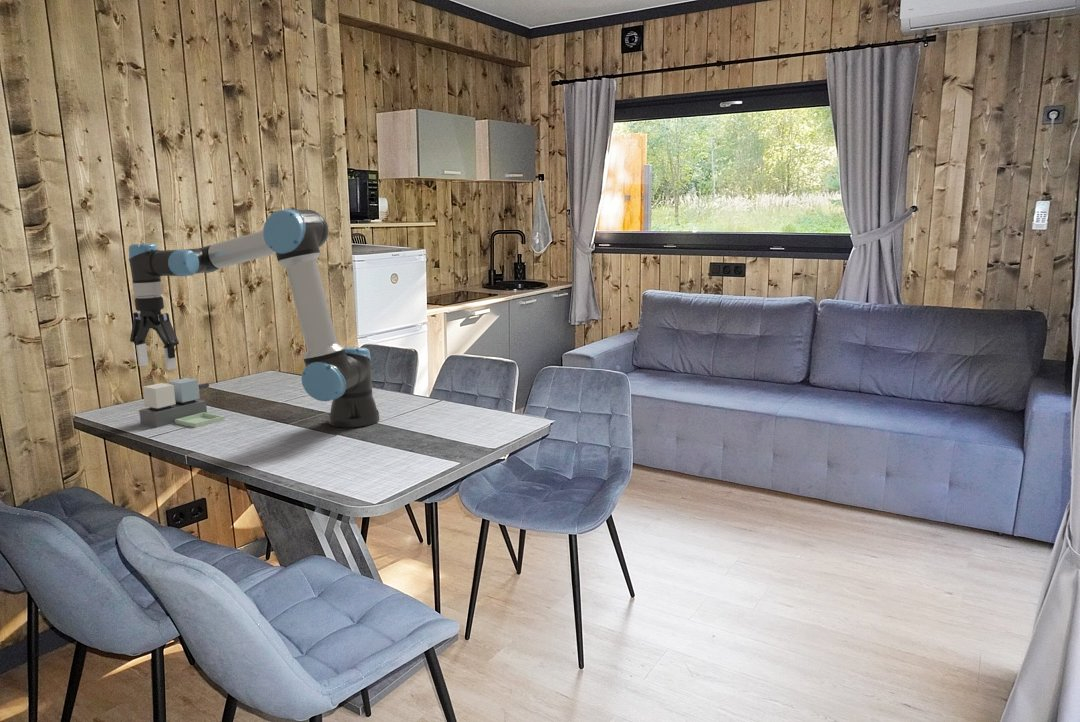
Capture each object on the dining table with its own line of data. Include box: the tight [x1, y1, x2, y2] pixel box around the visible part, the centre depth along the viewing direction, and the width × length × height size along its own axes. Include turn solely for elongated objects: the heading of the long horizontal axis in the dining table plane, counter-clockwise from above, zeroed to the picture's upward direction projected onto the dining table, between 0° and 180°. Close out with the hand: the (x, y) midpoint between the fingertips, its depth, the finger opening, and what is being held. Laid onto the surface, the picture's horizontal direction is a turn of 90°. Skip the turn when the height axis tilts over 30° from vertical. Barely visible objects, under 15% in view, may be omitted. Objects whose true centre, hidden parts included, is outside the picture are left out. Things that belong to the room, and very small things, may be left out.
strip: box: [138, 377, 210, 429], centre depth 235 cm, size 8×21×12 cm, turn 150°
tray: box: [174, 412, 226, 429], centre depth 231 cm, size 10×10×2 cm
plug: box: [142, 382, 176, 412], centre depth 229 cm, size 6×6×11 cm
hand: (157, 367), depth 227 cm, fingers open, 13 cm apart
